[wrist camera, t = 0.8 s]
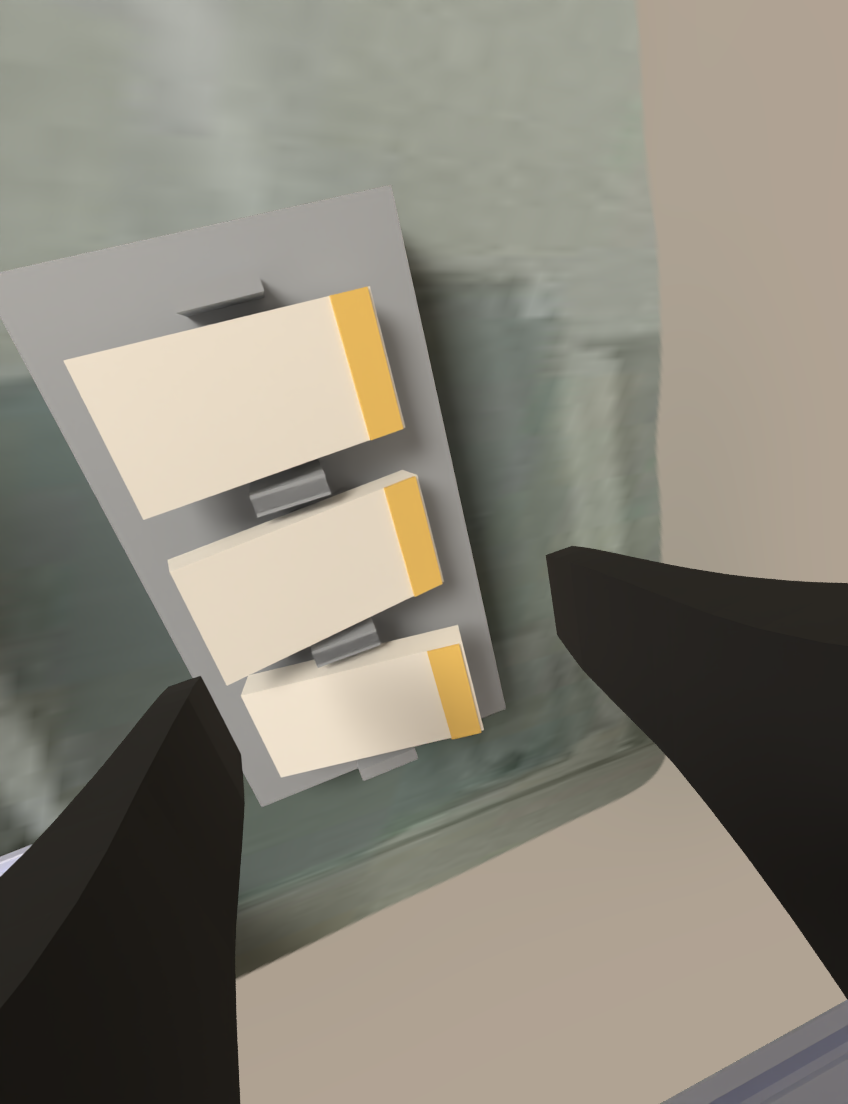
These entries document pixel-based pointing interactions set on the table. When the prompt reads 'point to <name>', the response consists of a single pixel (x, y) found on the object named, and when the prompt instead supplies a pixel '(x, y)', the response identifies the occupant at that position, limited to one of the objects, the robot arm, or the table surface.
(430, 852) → the table surface
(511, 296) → the table surface
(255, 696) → the block
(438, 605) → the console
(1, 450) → the table surface
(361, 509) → the rocker
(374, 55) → the table surface
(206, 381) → the rocker
